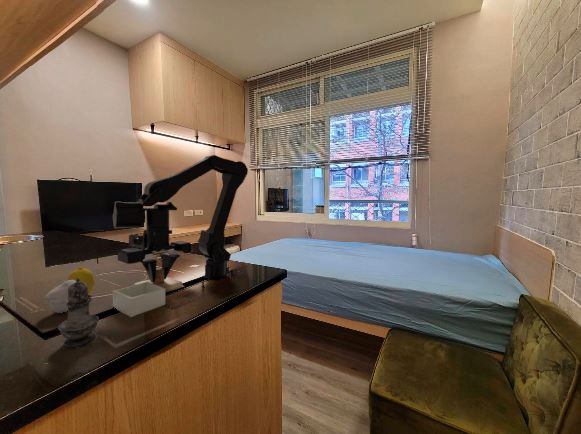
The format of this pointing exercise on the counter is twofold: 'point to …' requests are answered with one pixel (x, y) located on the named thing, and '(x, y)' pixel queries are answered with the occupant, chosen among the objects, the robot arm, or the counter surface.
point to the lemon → (83, 277)
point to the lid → (163, 280)
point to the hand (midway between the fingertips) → (158, 280)
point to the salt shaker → (78, 318)
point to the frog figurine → (59, 297)
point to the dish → (138, 298)
